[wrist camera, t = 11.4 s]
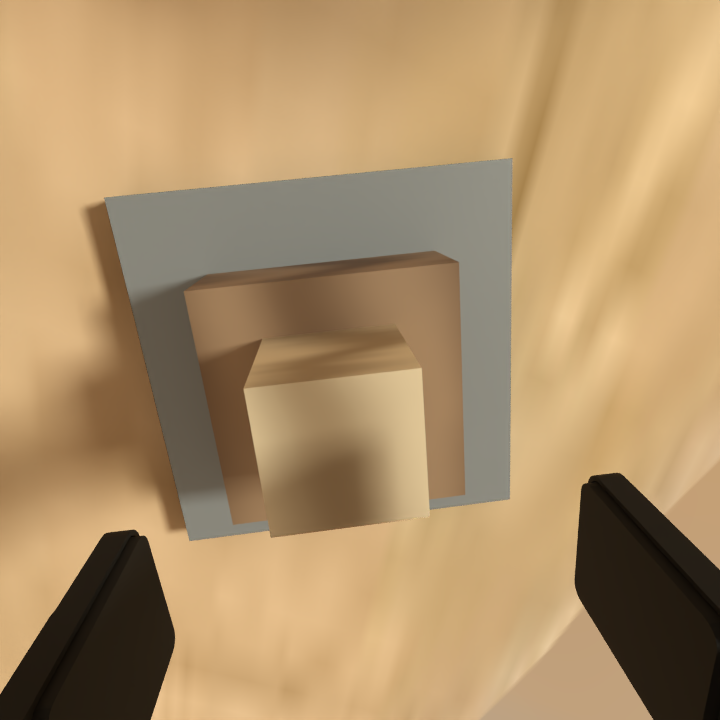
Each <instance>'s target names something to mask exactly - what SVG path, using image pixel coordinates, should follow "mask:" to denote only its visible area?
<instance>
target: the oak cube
mask: <svg viewBox="0 0 720 720" xmlns="http://www.w3.org/2000/svg"><path fill="white" fill-rule="evenodd" d="M244 394H245V400H246V405H247V410H248V416H249V421H250V427H251V432H252V438H253V443H254V449H255V454H256V460H257V465H258V471H259V476H260V481H261V487H262V492H263V498H264V503H265V509H266V514H267V520H268V525H269V531H270V536H271V538H272V537H280V536H288V535H295V534H303V533H311V532H318V531H326V530H333V529H341V528H349V527H356V526H364V525H372V524H379V523H387V522H395V521H402V520H410V519H418V518H425V517H430V509H429V490H428V472H427V454H426V436H425V418H424V399H423V381H422V368H421V366H420V364H419V363H418V361H417V359H416V358H415V356H414V354H413V353H412V351H411V349H410V348H409V346H408V344H407V343H406V341H405V339H404V338H403V336H402V334H401V333H400V331H399V329H398V328H397V326H396V325H395V324H391V325H382V326H373V327H364V328H355V329H346V330H337V331H328V332H319V333H310V334H301V335H292V336H283V337H274V338H265V339H262V342H261V344H260V347H259V349H258V352H257V355H256V357H255V360H254V362H253V365H252V368H251V370H250V373H249V376H248V378H247V381H246V383H245V386H244Z"/></svg>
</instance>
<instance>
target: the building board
mask: <svg viewBox="0 0 720 720" xmlns="http://www.w3.org/2000/svg"><path fill="white" fill-rule="evenodd" d="M104 199H105V203H106V207H107V211H108V215H109V219H110V223H111V227H112V231H113V235H114V239H115V243H116V247H117V251H118V255H119V259H120V263H121V267H122V271H123V275H124V279H125V283H126V287H127V291H128V295H129V299H130V303H131V307H132V311H133V315H134V319H135V323H136V327H137V331H138V335H139V339H140V344H141V348H142V352H143V356H144V360H145V364H146V368H147V372H148V376H149V380H150V384H151V388H152V392H153V396H154V400H155V404H156V408H157V412H158V416H159V420H160V424H161V428H162V432H163V436H164V440H165V444H166V448H167V452H168V456H169V460H170V464H171V468H172V472H173V476H174V480H175V484H176V488H177V492H178V496H179V500H180V504H181V508H182V512H183V516H184V520H185V524H186V528H187V532H188V536H189V540H190V541H193V540H201V539H209V538H216V537H224V536H232V535H239V534H247V533H255V532H262V531H269V525H268V520H267V521H259V522H252V523H244V524H236V525H233V522H232V518H231V513H230V508H229V504H228V499H227V494H226V489H225V485H224V480H223V475H222V470H221V466H220V461H219V456H218V452H217V447H216V442H215V437H214V433H213V428H212V423H211V418H210V414H209V409H208V404H207V399H206V395H205V390H204V385H203V381H202V376H201V371H200V366H199V362H198V357H197V352H196V347H195V343H194V338H193V333H192V328H191V324H190V319H189V314H188V310H187V305H186V300H185V295H184V291H185V290H186V289H188V288H189V287H191V286H192V285H193V284H195V283H196V282H197V281H199V280H200V279H202V278H203V277H204V276H206V275H207V274H216V273H225V272H235V271H244V270H254V269H263V268H273V267H283V266H292V265H302V264H311V263H321V262H330V261H340V260H349V259H359V258H369V257H378V256H388V255H397V254H407V253H416V252H426V251H436V252H439V253H441V254H443V255H445V256H447V257H449V258H451V259H453V260H455V261H458V262H459V277H460V314H461V351H462V389H463V426H464V463H465V495H460V496H453V497H445V498H437V499H430V500H429V509H430V510H431V509H439V508H446V507H454V506H462V505H469V504H477V503H485V502H492V501H500V500H508V499H510V400H511V266H512V158H511V159H500V160H490V161H479V162H469V163H459V164H448V165H438V166H428V167H417V168H407V169H396V170H386V171H376V172H365V173H355V174H345V175H334V176H324V177H313V178H303V179H293V180H282V181H272V182H262V183H251V184H241V185H230V186H220V187H210V188H199V189H189V190H178V191H168V192H158V193H147V194H137V195H127V196H116V197H106V198H104Z"/></svg>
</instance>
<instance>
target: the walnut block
mask: <svg viewBox="0 0 720 720" xmlns="http://www.w3.org/2000/svg"><path fill="white" fill-rule="evenodd" d="M184 295H185V300H186V305H187V310H188V314H189V319H190V324H191V328H192V333H193V338H194V343H195V347H196V352H197V357H198V362H199V366H200V371H201V376H202V381H203V385H204V390H205V395H206V399H207V404H208V409H209V414H210V418H211V423H212V428H213V433H214V437H215V442H216V447H217V452H218V456H219V461H220V466H221V470H222V475H223V480H224V485H225V489H226V494H227V499H228V504H229V508H230V513H231V518H232V522H233V525H236V524H244V523H252V522H259V521H267V514H266V509H265V503H264V498H263V492H262V487H261V481H260V476H259V471H258V465H257V460H256V454H255V449H254V443H253V438H252V432H251V427H250V421H249V416H248V410H247V405H246V400H245V394H244V386H245V383H246V381H247V378H248V376H249V373H250V370H251V368H252V365H253V362H254V360H255V357H256V355H257V352H258V349H259V347H260V344H261V342H262V339H265V338H274V337H283V336H292V335H301V334H310V333H319V332H328V331H337V330H346V329H355V328H364V327H373V326H382V325H391V324H395V325H396V326H397V328H398V329H399V331H400V333H401V334H402V336H403V338H404V339H405V341H406V343H407V344H408V346H409V348H410V349H411V351H412V353H413V354H414V356H415V358H416V359H417V361H418V363H419V364H420V366H421V368H422V381H423V399H424V418H425V436H426V454H427V472H428V490H429V500H430V499H437V498H445V497H453V496H460V495H465V463H464V426H463V389H462V351H461V314H460V277H459V262H458V261H455V260H453V259H451V258H449V257H447V256H445V255H443V254H441V253H439V252H436V251H426V252H416V253H407V254H397V255H388V256H378V257H369V258H359V259H349V260H340V261H330V262H321V263H311V264H302V265H292V266H283V267H273V268H263V269H254V270H244V271H235V272H225V273H216V274H207V275H206V276H204V277H203V278H202V279H200V280H199V281H197V282H196V283H195V284H193V285H192V286H191V287H189V288H188V289H186V290H185V291H184Z"/></svg>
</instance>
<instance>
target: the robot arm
mask: <svg viewBox="0 0 720 720" xmlns="http://www.w3.org/2000/svg"><path fill="white" fill-rule="evenodd" d="M575 588H576V591H577V594H578V597H579V599H580V600H581V602H582V604H583V605H584V607H585V609H586V610H587V612H588V614H589V615H590V617H591V618H592V620H593V622H594V623H595V625H596V627H597V628H598V630H599V631H600V633H601V635H602V636H603V638H604V640H605V641H606V643H607V645H608V646H609V648H610V649H611V651H612V653H613V654H614V656H615V658H616V659H617V661H618V663H619V664H620V666H621V667H622V669H623V670H624V672H625V674H626V676H627V677H628V679H629V680H630V682H631V684H632V685H633V687H634V689H635V690H636V692H637V694H638V695H639V697H640V698H641V700H642V702H643V703H644V705H645V706H646V708H647V710H648V711H649V713H650V715H651V716H652V718H653V720H720V570H719V569H718V568H717V567H716V566H715V565H714V564H713V563H712V562H711V561H710V560H709V559H708V558H707V557H706V556H705V555H704V554H703V553H702V552H701V551H700V550H699V549H698V548H697V547H696V546H695V545H694V544H693V543H692V542H691V541H690V540H689V539H688V538H687V537H685V536H684V535H683V534H682V533H681V532H680V531H679V530H678V529H677V528H676V527H675V526H674V525H673V524H672V523H671V522H670V521H669V520H668V519H667V518H666V517H665V516H664V515H663V514H662V513H661V512H660V511H659V510H658V509H657V508H656V507H655V506H654V505H653V504H652V503H651V502H650V501H649V500H648V499H647V498H646V497H645V496H644V495H643V494H642V493H641V492H640V491H638V490H637V489H636V488H635V487H634V486H633V485H632V484H631V483H630V482H629V481H628V480H627V479H626V478H625V477H624V476H623V475H622V474H620V473H612V474H603V475H595V476H591V477H590V479H589V481H588V483H586V484H583V486H582V489H581V500H580V514H579V528H578V541H577V555H576V568H575ZM174 644H175V632H174V628H173V624H172V621H171V617H170V614H169V611H168V607H167V604H166V600H165V597H164V593H163V590H162V587H161V583H160V580H159V576H158V573H157V570H156V566H155V563H154V559H153V556H152V553H151V549H150V546H149V542H148V540H147V538H146V537H145V536H139V534H138V532H137V531H136V530H127V531H118V532H110V533H106V534H104V535H103V536H102V538H101V539H100V541H99V542H98V544H97V546H96V547H95V549H94V550H93V552H92V553H91V555H90V557H89V558H88V560H87V561H86V563H85V564H84V566H83V568H82V569H81V571H80V572H79V574H78V575H77V577H76V579H75V580H74V582H73V583H72V585H71V586H70V588H69V590H68V591H67V593H66V594H65V596H64V597H63V599H62V601H61V602H60V604H59V605H58V607H57V608H56V610H55V611H54V612H53V613H52V615H51V616H50V617H49V619H48V620H47V622H46V624H45V625H44V627H43V628H42V630H41V631H40V633H39V635H38V636H37V638H36V639H35V641H34V642H33V644H32V646H31V647H30V649H29V650H28V652H27V653H26V655H25V656H24V658H23V660H22V661H21V663H20V664H19V666H18V667H17V669H16V671H15V672H14V674H13V675H12V677H11V678H10V680H9V682H8V683H7V685H6V686H5V688H4V689H3V691H2V692H1V694H0V720H151V717H152V714H153V711H154V708H155V705H156V702H157V698H158V695H159V692H160V689H161V686H162V683H163V680H164V677H165V674H166V671H167V668H168V665H169V662H170V659H171V656H172V653H173V649H174Z"/></svg>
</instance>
